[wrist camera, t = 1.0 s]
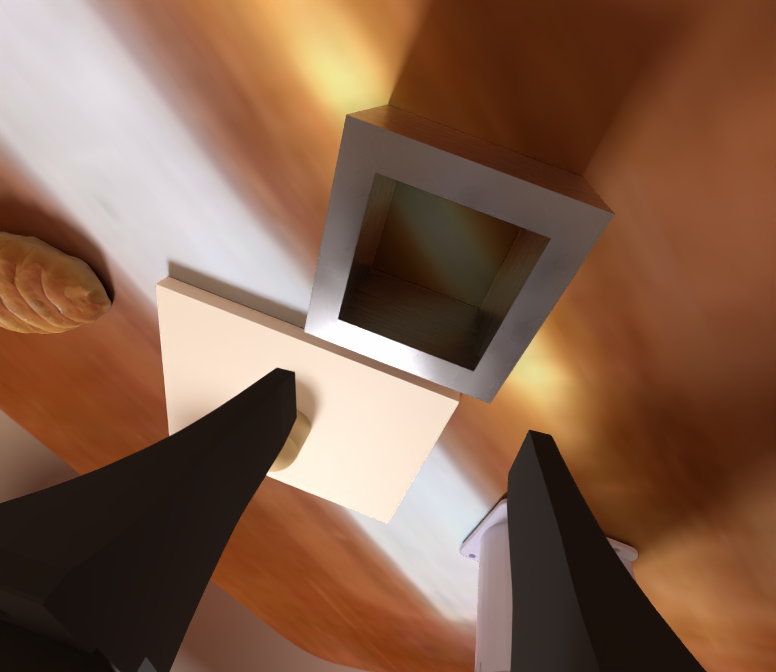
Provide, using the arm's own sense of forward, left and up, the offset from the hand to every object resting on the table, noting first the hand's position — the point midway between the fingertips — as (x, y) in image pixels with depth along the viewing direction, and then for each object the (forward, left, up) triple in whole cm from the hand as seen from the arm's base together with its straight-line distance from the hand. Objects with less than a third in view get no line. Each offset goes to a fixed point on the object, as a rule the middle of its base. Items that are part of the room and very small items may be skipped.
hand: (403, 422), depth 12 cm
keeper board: (+6, +12, -9) cm, 16 cm away
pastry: (+24, +9, -9) cm, 27 cm away
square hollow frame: (+1, -3, -9) cm, 9 cm away
